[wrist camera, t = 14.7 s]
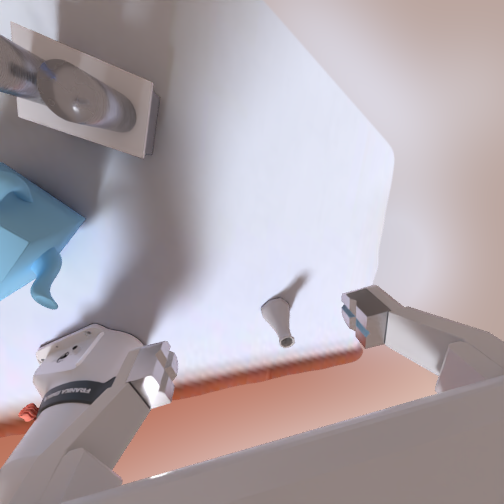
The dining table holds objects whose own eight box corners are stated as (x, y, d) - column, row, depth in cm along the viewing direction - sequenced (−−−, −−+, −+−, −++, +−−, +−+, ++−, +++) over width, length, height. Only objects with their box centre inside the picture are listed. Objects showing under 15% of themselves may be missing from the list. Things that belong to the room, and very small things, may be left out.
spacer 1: (44, 112, 24) (-44, 88, 16) (19, 66, 22) (-96, 13, 14) (80, 104, 24) (11, 77, 16) (58, 58, 23) (-33, 0, 14)
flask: (293, 312, 51) (309, 344, 42) (268, 325, 51) (278, 360, 42) (282, 292, 48) (296, 323, 39) (255, 306, 48) (263, 340, 39)
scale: (53, 124, 29) (18, 117, 24) (51, 48, 26) (10, 21, 21) (154, 158, 33) (142, 158, 28) (164, 95, 30) (152, 81, 25)
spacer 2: (110, 136, 26) (60, 128, 18) (89, 95, 24) (23, 67, 16) (142, 127, 26) (106, 115, 18) (124, 86, 24) (75, 52, 16)
